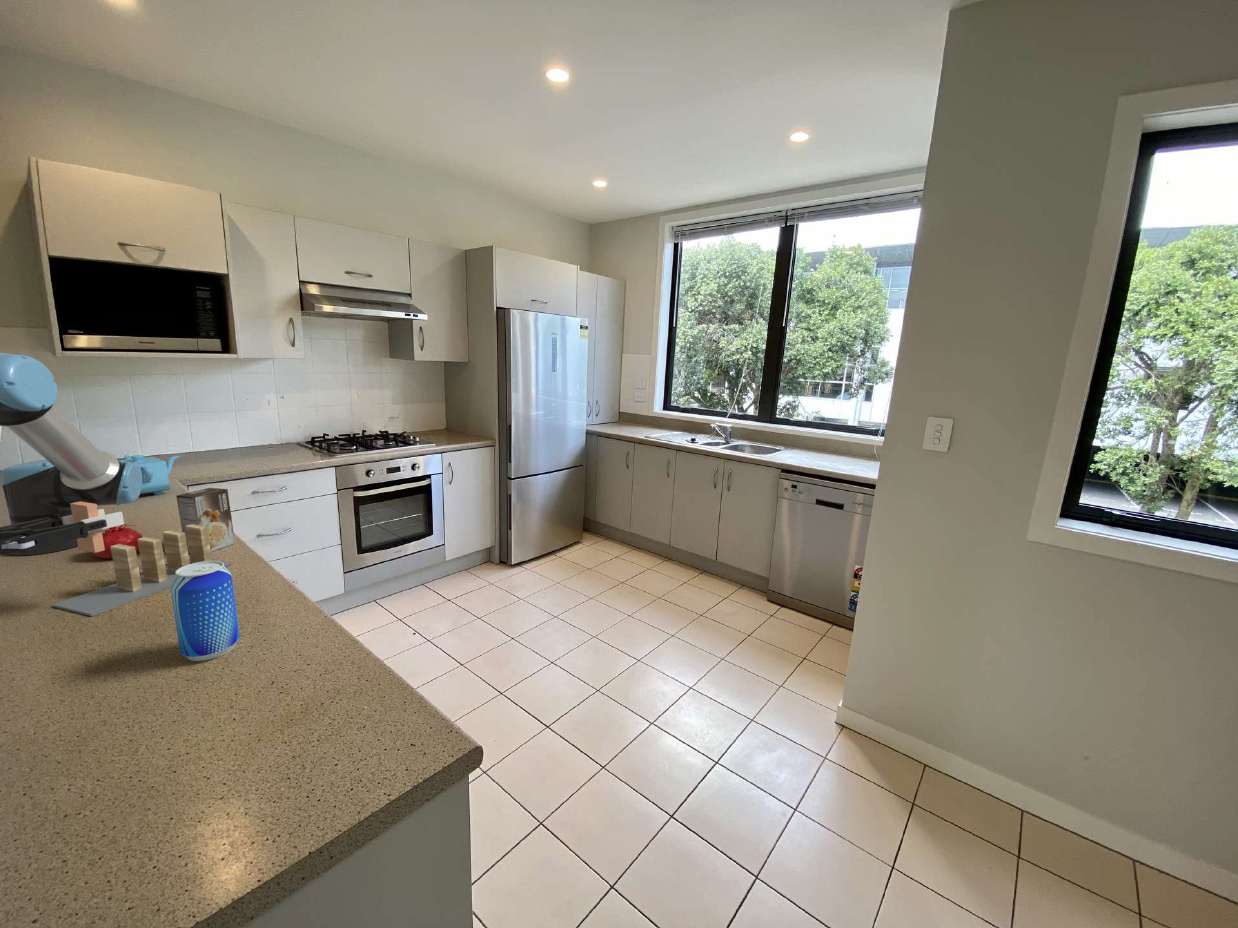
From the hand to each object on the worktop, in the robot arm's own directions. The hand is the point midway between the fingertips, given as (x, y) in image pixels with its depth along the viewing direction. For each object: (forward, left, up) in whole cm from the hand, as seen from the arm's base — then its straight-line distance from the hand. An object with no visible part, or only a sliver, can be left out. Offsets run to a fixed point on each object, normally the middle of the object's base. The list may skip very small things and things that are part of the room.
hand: (112, 516), depth 107 cm
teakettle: (-87, +55, -18) cm, 105 cm away
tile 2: (0, +1, -17) cm, 17 cm away
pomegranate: (-26, +14, -18) cm, 35 cm away
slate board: (0, +5, -18) cm, 18 cm away
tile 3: (0, +6, -17) cm, 18 cm away
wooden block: (0, +16, -17) cm, 23 cm away
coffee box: (-10, +25, -18) cm, 33 cm away
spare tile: (0, -4, -6) cm, 7 cm away
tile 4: (0, +11, -17) cm, 20 cm away
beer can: (+40, -10, -18) cm, 45 cm away
